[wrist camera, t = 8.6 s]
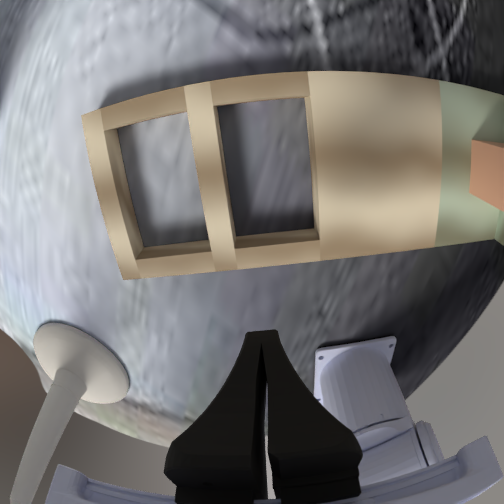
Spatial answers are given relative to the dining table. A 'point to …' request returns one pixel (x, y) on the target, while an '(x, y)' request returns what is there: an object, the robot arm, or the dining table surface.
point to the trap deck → (317, 169)
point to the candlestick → (65, 395)
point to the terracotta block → (487, 172)
